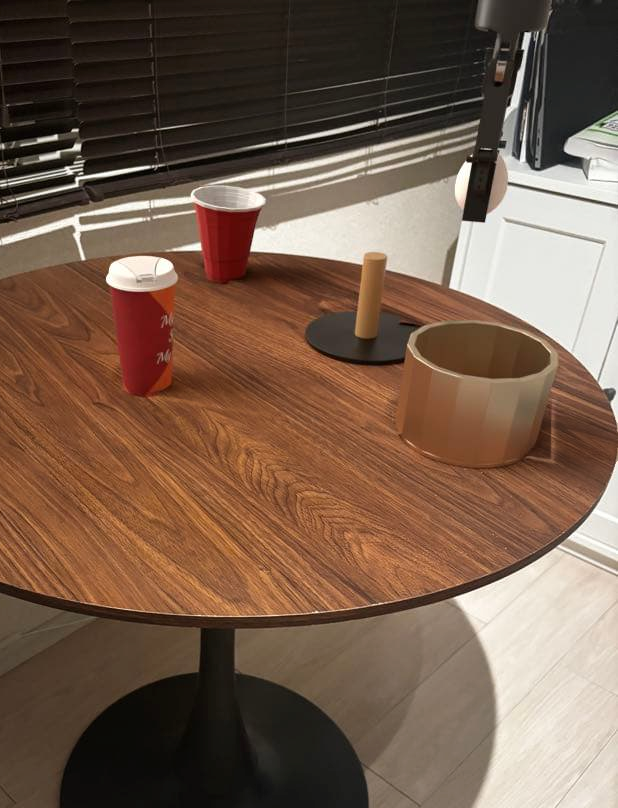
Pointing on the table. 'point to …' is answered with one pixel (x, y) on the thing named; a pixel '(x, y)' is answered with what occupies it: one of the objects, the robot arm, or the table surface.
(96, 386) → the table surface
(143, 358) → the paper cup
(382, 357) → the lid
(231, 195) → the plastic cup
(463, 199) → the egg
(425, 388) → the pot
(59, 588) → the table surface
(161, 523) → the table surface
